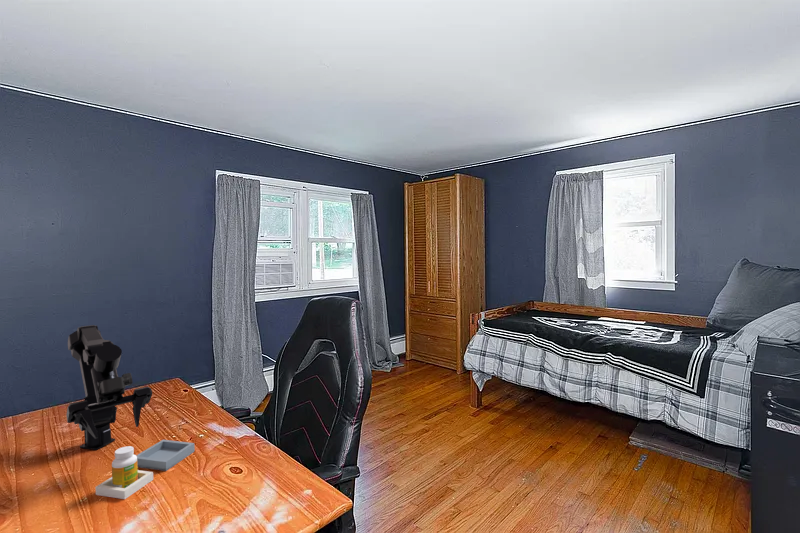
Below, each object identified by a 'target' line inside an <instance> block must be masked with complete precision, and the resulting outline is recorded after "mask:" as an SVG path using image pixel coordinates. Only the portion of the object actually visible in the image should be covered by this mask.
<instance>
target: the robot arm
mask: <svg viewBox="0 0 800 533" xmlns="http://www.w3.org/2000/svg"><path fill="white" fill-rule="evenodd" d="M120 347H121V346H118V345H117V344H114V342H113V341H111V340H110V339H104V338H103V336H102V334H101V331H100V330H99V327H98V325H94V324H91V325H84V326H83V325H81V326H79V327H77V329H76V330H75V331H73V332H72V333H70V334H68V338H67V350H68V351H70V354H71V356H72V358H74V360H77V362H79V367H80V372H81V377H82V383H83V389H84V393H85V394H84V395H85V398H84V400H79V401H76V402H70V403H69V404H68V405H67V408H66V421H67V422H66V423H68V424H72V423H74V425H78V427H79V429H80V431H81V432H84V443H83V444H82V445H79V448H80V449H87V450H92V451H93V450H95V451H97V450H99V449H102V448H103V447H104V446H107V445H109V444H111V443H112V442H115V441H116V438H112V429H111V424H114V423H116V421H117V413H118V412H117V410H118V407H117V406H121V405H124V404H129V403H131V404H132V412H133V418H134V420H133V421H134V424H135V427H136V428H138V427H139V425H140V419H141V412H142V408H145V406H146V405H148V404H149V403H150V402H151V399H152V396H153V390H152V388H151V387H149V386H144V387H139V388H135V389H134V390H133V393H132V394H129V395H124V394H125V392H126V391H125V389H126V387H128V386H131V385H132V384H133V377H132V373H131V372H128V373H123V374H122V375H121V376H119V375H118V371H117V369H118V367H119V365H120V361H121V357H122V354H123V353H122V348H120ZM123 395H124V396H123Z"/></svg>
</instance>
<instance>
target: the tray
mask: <svg viewBox="0 0 800 533" xmlns="http://www.w3.org/2000/svg"><path fill="white" fill-rule="evenodd" d="M195 447H196V446H195V443H194V442H188V441H178V440H171V439H169V440H168V439H161V440H160V441H159V442H158V441H157V442H156V443H155V444H153V445H151V446H149V447H148V448H147V449H145V450H142V451H141V452H139V453H138V454H135V455H136V456H137V466H138V468H141V469H148V470H154V471H155V470H156V471H163V472H167V471H168V470H170V469H171V468H173V467H174V466H176V465H177V464H178V463H180V462H181V461H183V460H184V459H185V458H187V457H189V456H191V454H193V453H194V452H195V450H196V448H195Z"/></svg>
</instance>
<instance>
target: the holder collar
mask: <svg viewBox="0 0 800 533" xmlns="http://www.w3.org/2000/svg"><path fill="white" fill-rule="evenodd" d="M153 480H154V472H153V471H147V470H139V469H138V480H137V481H135V482H134V483H132V484H131V485H129V486H128V487H126V488H119V487H112V476H111V477H110V478H108V479H106V480H104V481H103V482H101V483H100V484H98V485H96V486H95V495H96V496H100V497H101V496H102V497H108V498H114V499H115V498H116V499H121V500H126V499H127V498H129V497H131V496H132V495H133V494H135V493H136V492H138V491H139V490H140V489H142V488H143V487H145V486H146V485H148V484H149V483H150V482H152V481H153Z"/></svg>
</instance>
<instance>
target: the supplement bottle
mask: <svg viewBox="0 0 800 533" xmlns="http://www.w3.org/2000/svg"><path fill="white" fill-rule="evenodd" d="M134 450H135V448H134V446H130V445H128V446H122V447H118V449H116V450H115V451H114V459H113V460H112V462H111V477H112V487H119V488H126V487H128V486H129V485H131V484H132V483H134V482H135V481H137V480H138V470H139V469H138V468H139V467H138V466H137V456H136V455H137V454H134V452H135V451H134Z"/></svg>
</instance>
